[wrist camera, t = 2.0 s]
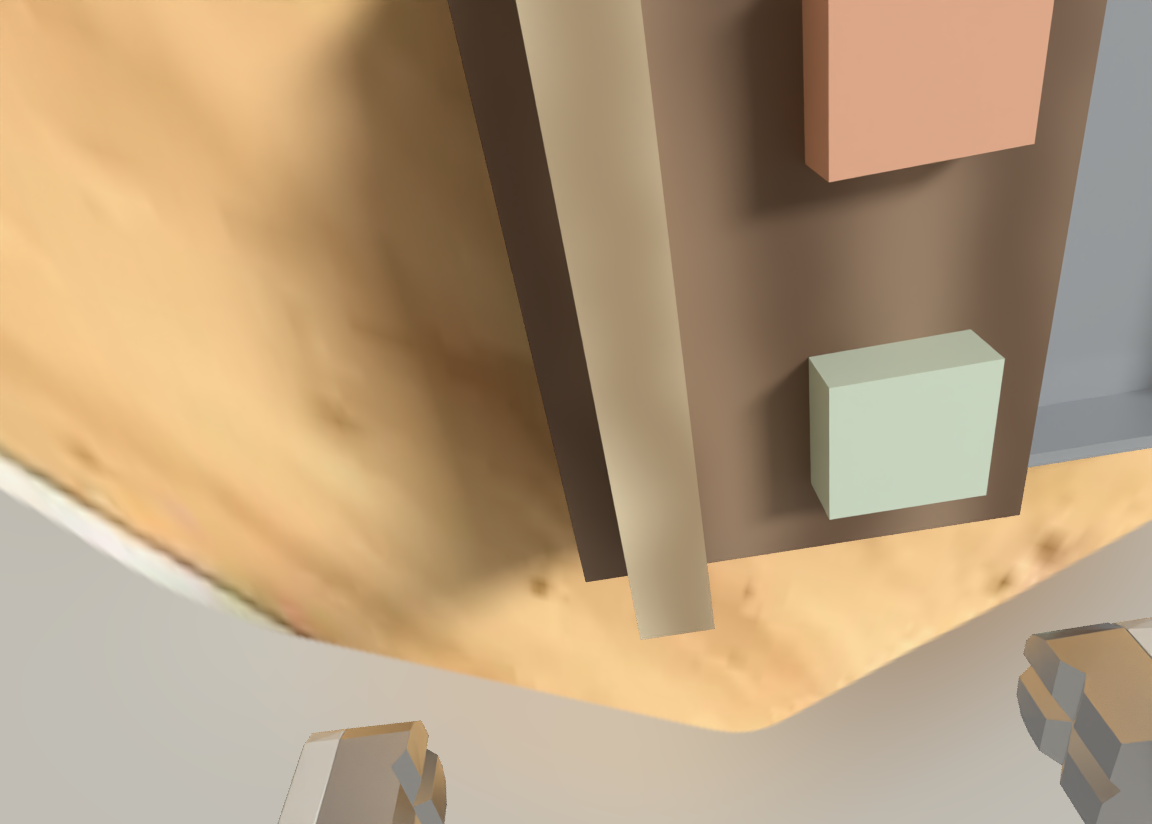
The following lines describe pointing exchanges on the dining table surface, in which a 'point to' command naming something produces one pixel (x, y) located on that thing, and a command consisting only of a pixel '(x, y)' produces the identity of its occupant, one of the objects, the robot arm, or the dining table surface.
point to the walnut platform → (785, 263)
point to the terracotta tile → (919, 81)
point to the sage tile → (903, 423)
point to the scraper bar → (623, 291)
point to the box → (1106, 264)
